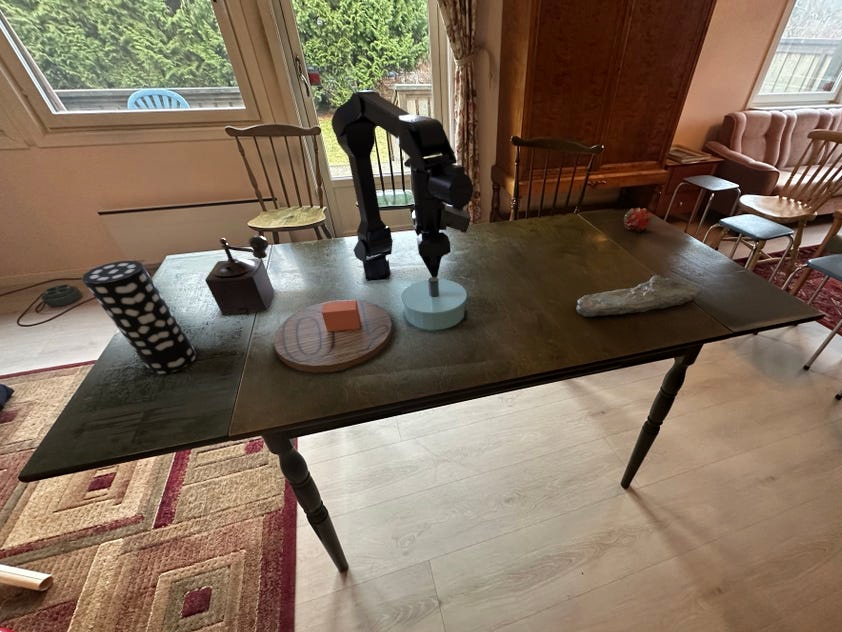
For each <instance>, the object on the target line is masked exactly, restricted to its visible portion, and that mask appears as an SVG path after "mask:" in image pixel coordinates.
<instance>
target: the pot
mask: <svg viewBox="0 0 842 632" xmlns="http://www.w3.org/2000/svg"><path fill="white" fill-rule="evenodd" d="M403 307H404V314H405V319H406V320H407V321H408V323H409V324H411V325H412V326H415V327H417V328H419V329H423V330H427V331H428V330H429V331H438V330H445V329H448V328H451V327H453V326H455V325H458V324H459V323H460V322H461V321H462V320H463V319H464V317H465V313H466V301H465V302H464V304H463V305H462V306H460V307H459V308H457V309H455V310H453V311H450V312H447V313H441V314H424V313H419V312H415V311H413V310H410V309H409V308H407V307H406V306H405V305H404V304H403Z"/></svg>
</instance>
